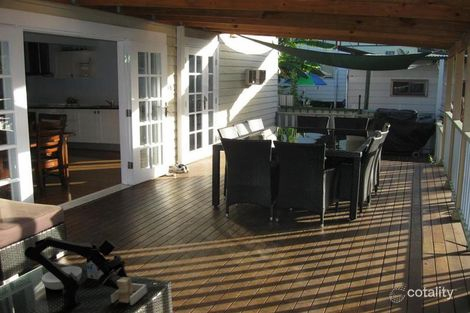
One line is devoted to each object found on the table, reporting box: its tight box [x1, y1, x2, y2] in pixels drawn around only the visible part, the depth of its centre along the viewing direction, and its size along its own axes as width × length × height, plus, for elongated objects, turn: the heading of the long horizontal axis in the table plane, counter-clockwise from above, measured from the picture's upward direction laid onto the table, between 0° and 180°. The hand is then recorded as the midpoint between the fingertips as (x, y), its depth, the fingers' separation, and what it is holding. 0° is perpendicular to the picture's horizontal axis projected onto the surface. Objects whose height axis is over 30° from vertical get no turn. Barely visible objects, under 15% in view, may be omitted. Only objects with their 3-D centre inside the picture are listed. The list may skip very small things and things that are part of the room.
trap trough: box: [110, 282, 149, 306], centre depth 235 cm, size 14×12×4 cm
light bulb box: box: [85, 257, 108, 281], centre depth 264 cm, size 11×7×11 cm, turn 62°
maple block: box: [116, 277, 133, 304], centre depth 232 cm, size 5×5×11 cm
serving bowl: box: [41, 265, 83, 290], centre depth 257 cm, size 21×21×7 cm
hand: (123, 284), depth 232 cm, fingers open, 9 cm apart
